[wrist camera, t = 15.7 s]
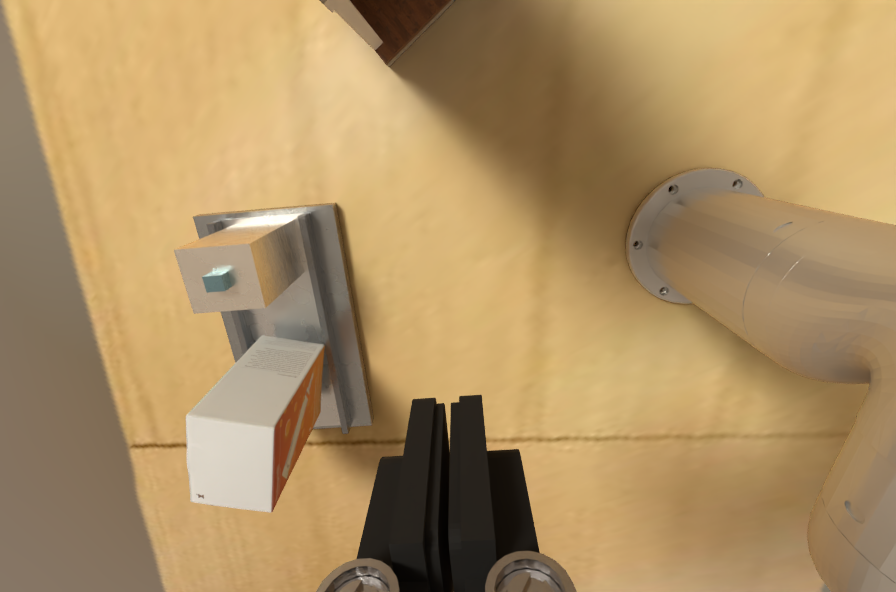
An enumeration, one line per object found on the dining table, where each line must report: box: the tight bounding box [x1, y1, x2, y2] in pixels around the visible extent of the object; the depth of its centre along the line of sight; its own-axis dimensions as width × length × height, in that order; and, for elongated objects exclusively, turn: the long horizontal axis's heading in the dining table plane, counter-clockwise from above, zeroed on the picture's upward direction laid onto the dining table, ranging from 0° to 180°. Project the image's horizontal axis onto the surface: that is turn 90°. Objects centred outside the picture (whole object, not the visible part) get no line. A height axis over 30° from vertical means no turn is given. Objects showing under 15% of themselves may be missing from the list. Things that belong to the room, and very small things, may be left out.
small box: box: [186, 335, 325, 512], centre depth 37 cm, size 8×6×13 cm
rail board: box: [174, 203, 374, 434], centre depth 40 cm, size 13×24×12 cm, turn 5°
